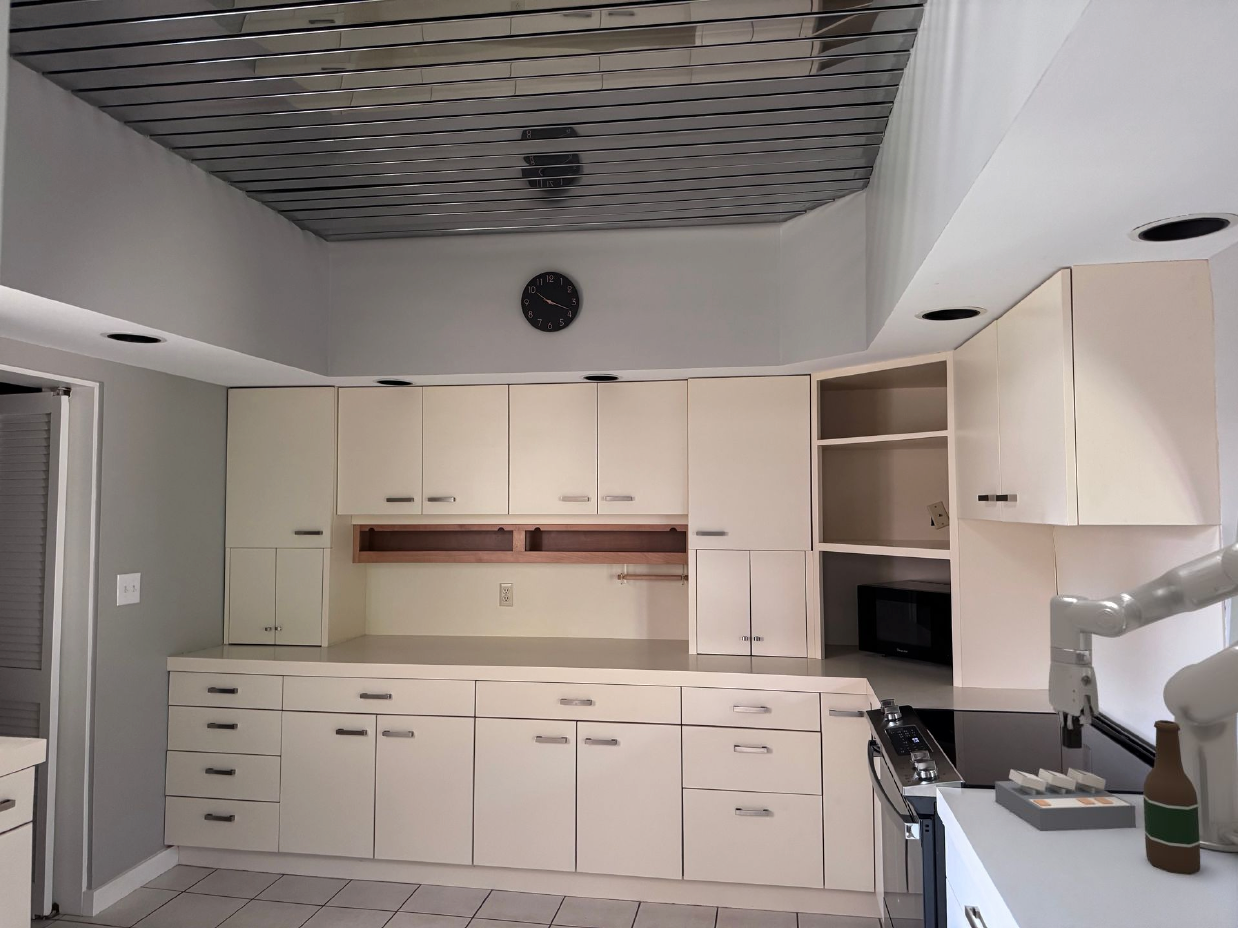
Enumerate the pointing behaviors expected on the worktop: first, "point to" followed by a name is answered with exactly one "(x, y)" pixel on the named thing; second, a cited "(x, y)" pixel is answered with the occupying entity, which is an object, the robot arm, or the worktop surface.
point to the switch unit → (1065, 806)
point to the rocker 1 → (1027, 780)
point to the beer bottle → (1170, 807)
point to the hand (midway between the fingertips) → (1071, 746)
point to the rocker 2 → (1086, 778)
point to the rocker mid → (1057, 779)
